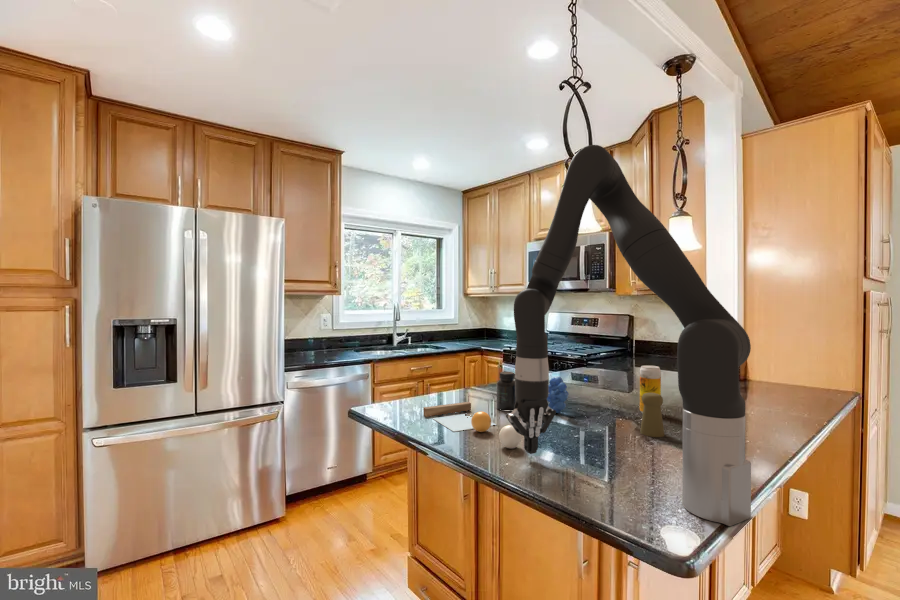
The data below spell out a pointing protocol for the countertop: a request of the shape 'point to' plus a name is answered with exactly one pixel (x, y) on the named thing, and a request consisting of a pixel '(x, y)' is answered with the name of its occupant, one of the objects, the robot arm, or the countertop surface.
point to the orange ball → (481, 421)
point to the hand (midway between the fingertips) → (531, 452)
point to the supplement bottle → (506, 391)
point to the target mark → (457, 422)
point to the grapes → (557, 394)
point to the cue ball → (509, 437)
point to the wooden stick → (446, 409)
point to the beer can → (649, 381)
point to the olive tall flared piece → (652, 415)
